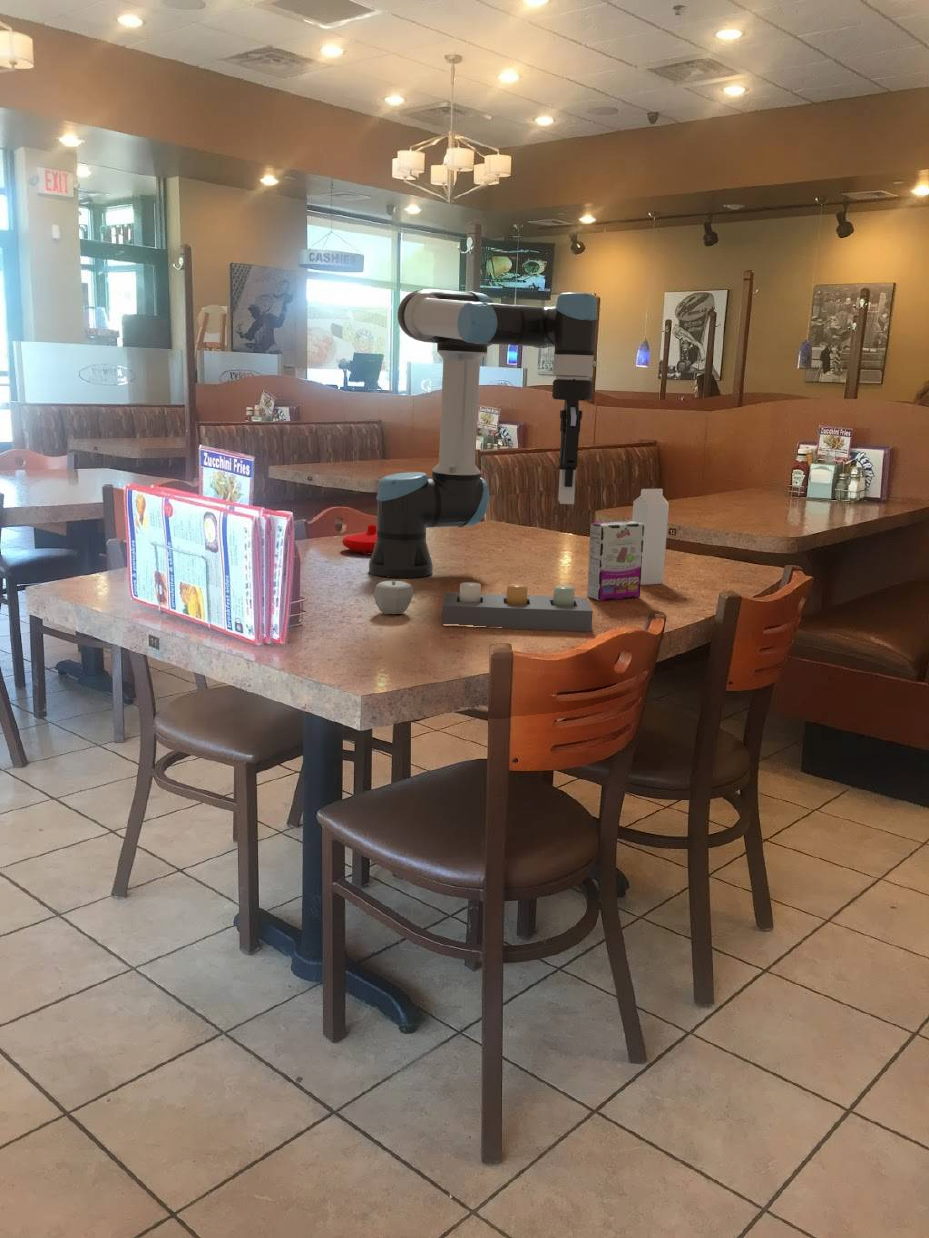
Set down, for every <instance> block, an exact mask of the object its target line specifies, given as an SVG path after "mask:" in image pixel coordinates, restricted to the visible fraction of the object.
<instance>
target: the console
mask: <svg viewBox="0 0 929 1238" xmlns="http://www.w3.org/2000/svg"><path fill="white" fill-rule="evenodd" d="M506 596H507V594H504V593H503V594H501V593H500V594H498V593H495V594H494V593H493V594H492V593H481V595H480V603H468V602H459V601H460V592H444V596H443V602H442V615H441V617H442V618H441V620H442V621H441V625H442V624H459V625H473V626H486V627H502V628H515V629H514V630H531V631H532V630H533V631H559V632H561V631H562V632H587V633H588V632H590V633H592V631H593V630H592V629H593V613H594V612H593V608H592V606H591V604H590V603H589V600H588V597H585V596H584V597H583V596H574V606H553V595H529V594H527V605H524V604H506Z"/></svg>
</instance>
